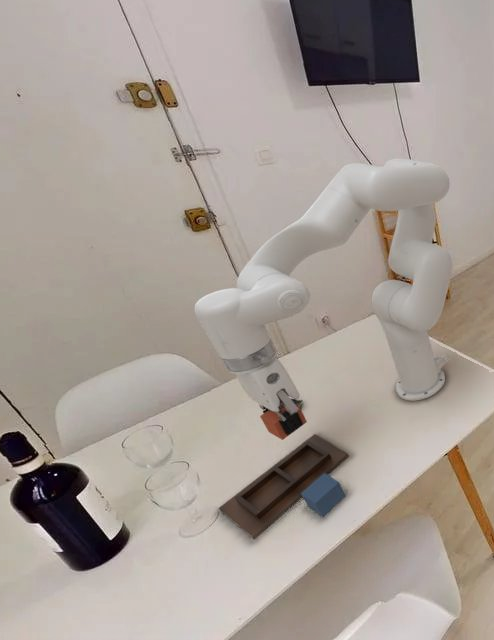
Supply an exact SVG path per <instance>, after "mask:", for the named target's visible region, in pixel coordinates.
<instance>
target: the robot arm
mask: <svg viewBox="0 0 494 640" xmlns="http://www.w3.org/2000/svg"><path fill="white" fill-rule="evenodd" d="M450 182H451V181H450V177H449V175H448V173H447V172H446V170H445V169H444V168H443V167H442V166H441V165H438V164H436V163H434V162H428V161H423V160H416V159H410V158H404V157H403V158H401V157H397V158H391V159H389V160H387V161H386V162H385V163H384V164H383V166H382V165H381V166H379V165H374V164H369V163H364V162H352V163H347V164H346V165H344V166H343V167H342V168H340V170H339V171H337V173H336V174H335V176H334V177H332V179H331V181H330V182H329V183H328V184H327V185H326V187H325V188H324V190H323V191H322V192H321V193H320V195H319V196H318V197H317V198H316V199H315V200H314V202H313V204H311V205H310V207H309V208H308V209H307V211H306V212H305V213H304V214H303V216H301V217H300V218H299V219H298V220H296V221H295V222H293V223H291V224H289V225H288V226H286V227H285V228H284V229H282V230H281V231H279V232H277V233H276V234H275V235H273V236H272V237H270V238H269V239H268V240H267V241H265V243H264V244H262V245H261V246H260V247H259V249H257V251H256V252H255V253H254V254H253V256H252V257H251V258H250V259H249V261H248V262H247V263H246V264H245V266H243V268H242V270H241V271H240V273H239V275H238V278H237V279H236V284H235V285H236V287H231V288H230V287H229V288H224V289H219V290H216V291H213V292H210V293H208V294H205V295H204V296H202V297H201V298H200V299H198V300H197V301H196V302H195V304H194V308H193V311H194V314H195V316H196V318H197V320H198V321H199V324H200V325H201V326H202V329H203V330H204V332H205V334H206V335H207V337H208V339H209V341H210V342H211V344H212V346H213V347H214V349H215V351H216V353H217V355H218V356H219V358H220V360H221V362H222V363H223V365H224V366H225V369H226V370H227V372H228V373H230V374H232V375H235V376H236V379H237V380H238V382H239V384H240V386H241V387H242V389H243V391H244V392H245V394H246V395H247V396H248V397H249V398H250V399H251V400H252V401H254V402H255V403H257V404H258V406H259V408H260V409H261V410H262V414H264V413H265V412H267V411H268V410H271V411H275V412H276V414H277V415H278V417H279V418H280V420H279V423H280V424H281V426H282V428H283V430H284V432H285V434H286V435H289V436H290V435H292V434H293V433H295V432H296V431H297V430H299V429H300V428H301V427H303V426H304V425H303V422H302V420H301V418H300V416H299V414H298V410H299V409H298V407H297V406H296V405H295V404H294V402H293V401H292V400H291V399H295V400H297V399H299V398H300V396H301V394H300V392H299V390H298V388H297V386H296V385H295V383H294V381H293V379H292V377H291V376H290V374H289V372H288V371H287V369H286V368H285V366H284V365H283V363H282V362H281V361H280V359H279V358H278V350H277V348H276V346H275V344H274V342H273V340H272V337H271V336H270V333H269V331H268V330H267V328H266V325H267V324H268V325H269V324H271V323H274V322H279V321H282V320H285V319H289V318H292V317H294V316H296V315H298V314H300V313H301V312H303V311H304V310H305V309H306V308H307V306H308V305H309V303H310V299H311V293H310V290H309V288H308V287H307V286H306V284H304V283H303V282H302V281H300V280H298V279H296V278H294V277H292V276H290V275H291V274H292V272H294V270H296V268H297V267H298V266H299V265H300V264H301V263H302V262H303V261H304V260H306V259H307V258H309V257H310V256H313V255H314V254H317V253H319V252H322V251H323V252H324V251H327V250H332V249H335V248H337V247H340V246H343V245H344V244H346V243H347V242H348V240H349V239H350V238H351V236H352V235H353V233H354V232H355V231H356V229H357V228H358V227H359V225H360V224H361V223H362V222H363V220H364V218H365V217H366V216H367V214H368V213H369V212H370V210H377V211H379V212H393V211H394V212H395V211H397V219H396V225H395V229H394V233H393V236H392V241H391V245H390V248H389V252H388V253H389V254H388V258H387V263H388V267H389V268H390V269H391V271H392V272H394V273H395V274H397V275H399V276H401V277H404V278H406V279H409V280H412V284H411V283H408V282H406V281H402V280H400V279H399V280H398V279H388V280H384V281H383V282H381V283H379V284H378V285H377V286H376V287H375V288H374V290H373V292H372V295H371V308H372V310H373V312H374V315H375V317H376V318H377V321H378V322H379V324H380V325H381V328H382V331H383V332H384V335H385V339H386V341H387V344H388V348H389V350H390V353H391V356H392V360H393V363H394V366H395V370H396V374H397V375H398V380H397V381H396V384H395V390H396V394H397V395H398V397H399V398H401V399H402V400H405V401H409V402H410V401H411V402H414V401H415V402H417V401H421V400H426V399H428V398H431V397H432V396H433V395H434V396H435V394H437V393H438V392H439V391H440V390H441V389H442V387H443V386H445V385H444V384H445V383H446V376H445V372H444V370H443V369H442V367H443V365H444V364H446V363H447V362H448V361H449V360H450V356H449V355H448V354H443V356H441V357H439V355H436V354H435V355H434V352H433V349H432V344H431V340H430V336H429V332H428V331H429V330H431V329H432V328H433V327H434V326H436V324H437V323H438V321H439V319H441V316H442V313H443V310H444V307H445V302H446V298H447V294H448V290H449V286H450V283H451V279H452V273H453V259H452V257H451V254H450V252H449V251H448V250H447V249H446V248H445V247H443V246H442V245H438V244H436V243H433V240H434V235H435V229H436V222H437V215H436V210H435V206H434V204H436V203H438V202H440V201H441V200H443V199H445V197H446V196H447V194H448V192H449V190H450V184H451V183H450ZM280 402H281V403H280ZM283 407H285V408H286V409H287V410H286V411H285V412H284V413H282V412H281V410H280V409H282V408H283ZM295 430H296V431H295Z"/></svg>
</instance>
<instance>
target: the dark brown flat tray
mask: <svg viewBox="0 0 494 640" xmlns="http://www.w3.org/2000/svg"><path fill="white" fill-rule="evenodd" d="M349 457H350V455H349V454H348V452H346V451H345V450H343V449H341V448H339V447H338V446H336V445H334V444H333V443H331V442H330V441H327V440H325V439H324V438H322V437H320V436H319V435H317V434H316V433H314V434H312V435H311V436H310V437H308V439H306V440H305V441H304V442H302V443H301V444H300V445H298V446H297V447H296V448H294V449H293V450H292V451H291V452H289V453H288V454H287V455H286V456H284V457H283V458H282V459H280V460H279V461H278V462H276V463H274V465H272V466H271V467H270V468H268V469H267V470H266V471H265V472H264V473H262V474H261V475H259V476H258V477H257V478H256V479H254V480H253V481H252V482H250V483H249V484H247V486H245V487H243V489H241V490H240V491H239V492H237V493H236V494H235V495H234V496H232V497H230V498H229V499H228V500H227V501H226V502H225V503H223V504H222V505H221V506H219V507H218V510H219V511H220V512H221V513H222V514H223V515H224V516H226V517H227V518H228V519H229V520H230V521H232V522H233V523H234V524H235V525H236V526H238V527H239V528H240V530H242V531H243V532H245V533H246V534H247V535H248V536H249V537H250V538H251V539H253V540H255V539H257V538H258V536H260V535H261V534H263V532H264V531H266V529H268V528H269V527H270V526H272V525H273V523H275V522H276V521H277V520H278V519H280V518H281V516H283V515H284V514H285V513H286V512H287V511H289V509H291V508H292V507H293V506H294V505H295V504H297V503H298V502H299V501H300V500H301V499H302V498H303V497H302V495H301V493H302V492H303V491H304V490H305V489H306V488H308V487H309V486H310V485H311V484H312V483H313V482H314V481H316V480H317V479H318V478H319V477H320V476H321V475H323V474H324V473H326V474H327V475H330V474H331V473H332V472H333V471H334V470H335V469H336V468H338V467H339V466H340V465H341V464H342V463H343V462H345V460H346V459H348V458H349Z"/></svg>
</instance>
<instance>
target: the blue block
mask: <svg viewBox="0 0 494 640" xmlns="http://www.w3.org/2000/svg"><path fill="white" fill-rule="evenodd" d="M301 495H302V498H303V500H304V502H305V503H306V505H307V507H308V508H309V509H310V510H311V511H313V512H314V513H315V514H317V515H319V516H320V517H321V518H324V517H325V516H326V515H327V514H328V513H329V512H331V510H333V509H334V507H336V506H337V505H338V504H339V503H340V502H341V501H342V500H343V499H344V498H345V497H346V493H345V491H344V490H343V487H342V485H341V483H340V482H339V481H338V480H337V479H335V478H334V477H332V476H330V474H328V475H327V474H326V473H324V474H323V475H321V476H320V477H319V478H318V479H317V480H316V481H314V482H313V483H312V484H311V485H310V486H309V487H308V488H306V489H305V490H304V491H303V492H302V493H301Z"/></svg>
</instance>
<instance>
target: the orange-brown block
mask: <svg viewBox="0 0 494 640" xmlns="http://www.w3.org/2000/svg"><path fill="white" fill-rule="evenodd" d="M280 403H281V402H280ZM295 405H296V404H295ZM296 406H297V407H298V409H299V410H298V414H299V416H300V418H301V420H302V422H303V425H302V426H304V425H305V424H306V423H307V422H308V421H307V419H306V417H305V415H304V412H303V411H302V408H301V407H300V406H298V405H296ZM280 410H281V412H282V413H284V412H285V411H286V410H287V409H286V408H285V407H283V408H282V409H280ZM259 417H260V419H261V421H262V422H263V424H264V426H265V428H266V430H267V432H268V433H270V434H271V435H273V436H275V437H277V438H278V439H280V440H282V441H283V440H285V439H286V438H287V437H289V436H290V435H286V434H285V432H284V430H283V428H282V426H281V424H280V423H279V420H280V418H279V417H278V415H277V414H276V412H275V411H271V410H268V411H267V412H265V413H262V414H261V415H260V416H259ZM296 431H297V430H295V431H294V432H296Z"/></svg>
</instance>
